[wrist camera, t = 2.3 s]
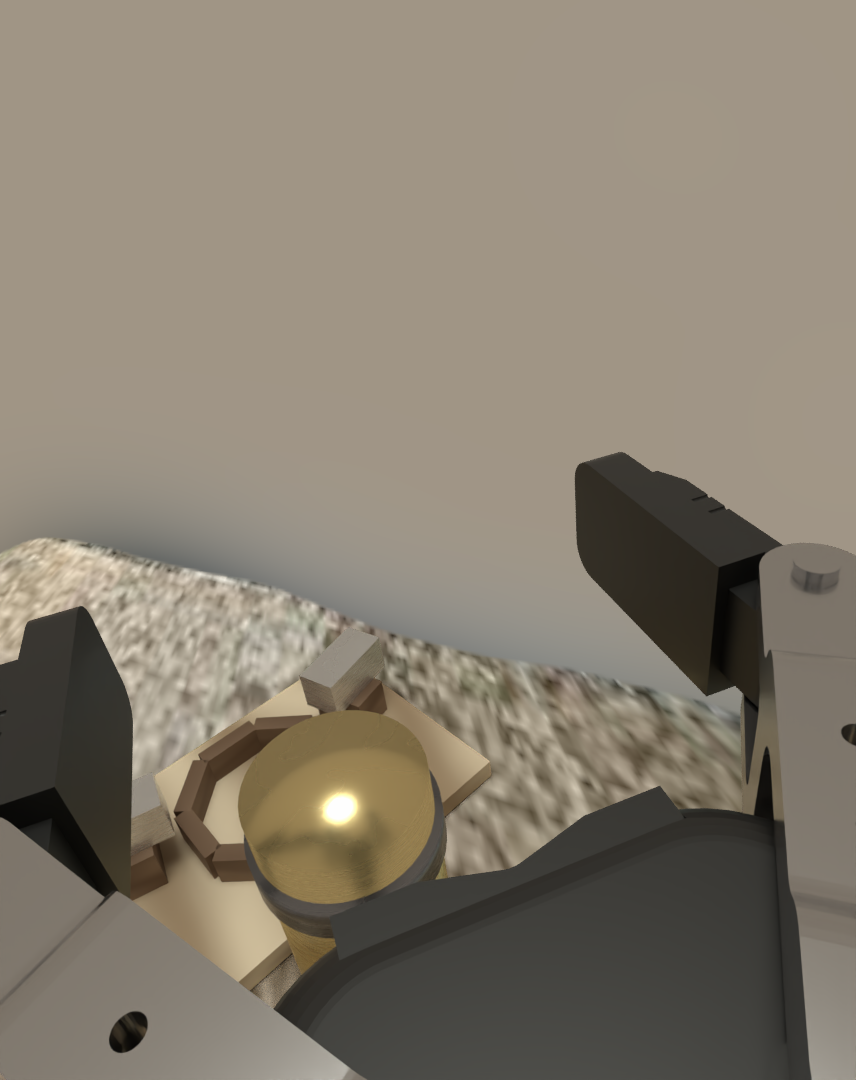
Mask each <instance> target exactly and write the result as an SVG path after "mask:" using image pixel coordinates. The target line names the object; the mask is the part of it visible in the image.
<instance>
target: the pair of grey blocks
mask: <svg viewBox="0 0 856 1080" xmlns="http://www.w3.org/2000/svg"><path fill="white" fill-rule="evenodd" d="M384 667H385V665H384V660H383V655H382V650H381V645H380V640H379V637H376V636H373V635H370V634H367V633H364V632H361V631H358V630H355V629H353V628H350V627H348V628H347V629H346V630H345V631H344V632H343V633H342V634H341V635H340V636H339V637H338V638H337V639H336V640H335V641H334V642H333V643H332V644H331V645H330V646H329V647H328V648H327V649H326V650H325V651H324V652H323V653H322V654H321V655H320V656H319V657H317V658H316V659H315V660H314V661H313V662H312V663H311V664H310V665H309V666H308V667H307V668H306V669H305V670H304V671H303V672H302V673H301V674H300V675H299V677H300V680H301V684H302V687H303V691H304V694H305V698H306V701H307V705H310V706H312V707H314V708H317V709H319V710H321V711H324V712H326V713H330V712H335V711H344V710H346V709H347V708H348V707H349V705H350V704H351V703H352V702H353V701H354V700H355V699H356V698H357V697H358V695H359V694H360V693H361V692H362V691H363V690H364V689H365V688H366V687H367V686H368V684H369V683H370V682H371V681H372V680H373V679H374V678H375V677H376V676H377V674H378V673H379V672H380V671H381V670H382V669H383V668H384ZM174 835H175V832H174V828H173V824H172V821H171V817H170V813H169V810H168V806H167V802H166V800H165V798H164V796H163V794H162V792H161V789H160V787H159V785H158V783H157V781H156V779H155V777H154V775H153V773H152V772H151V773H149V774H147V775H145V776H142V777H140V778H138V779H136V780H133V781H132V814H131V856H132V855H134V854H136V853H138V852H140V851H143V850H145V849H147V848H149V847H151V846H153V845H155V844H157V843H159V842H161V841H163V840H166V839H168V838H170V837H172V836H174Z"/></svg>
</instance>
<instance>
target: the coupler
mask: <svg viewBox="0 0 856 1080" xmlns="http://www.w3.org/2000/svg"><path fill="white" fill-rule="evenodd" d="M238 814H239V820H240V823H241V827H242V829H243V832H244V851H245V856H246V860H247V864H248V866H249V868H250V871H251V873H252V876H253V878H254V880H255V883H256V885H257V888H258V890H259V892H260V894H261V897H262V899H263V901H264V902H265V904H266V905H267V907H268V908H269V910H270V911H271V912H272V913H273V914H274V915H275V916H276V917H277V918H278V919H279V920H280V923H281V925H282V928H283V930H284V933H285V935H286V938H287V940H288V943H289V945H290V948H291V950H292V953H293V955H294V957H295V960H296V962H297V965H298V967H299V970H300V972H301V975H302V974H303V973H304V972H305V971H306V970H308V969H309V968H310V967H311V966H312V965H313V964H314V963H315V962H316V961H317V960H319V959H320V958H321V957H322V956H323V955H325V954H326V953H328V952H329V951H330V950H332V949H333V948H334V947H336V944H335V940H334V935H333V931H332V927H331V922H330V918H329V917H330V916H333V915H335V914H338V913H340V912H343V911H345V910H348V909H350V908H353V907H356V906H358V905H361V904H363V903H366V902H368V901H371V900H373V899H376V898H378V897H381V896H383V895H386V894H388V893H391V892H393V891H396V890H398V889H401V888H403V887H406V886H408V885H411V884H414V883H416V882H422V881H429V880H436V879H443V878H448V877H447V871H446V865H445V859H444V856H445V851H446V843H447V832H446V823H445V817H444V811H443V805H442V799H441V794H440V789H439V787H438V784H437V782H436V779H435V778H434V776H433V774H432V772H431V771H430V769H429V767H428V762H427V757H426V754H425V752H424V749H423V747H422V745H421V744H420V742H419V740H418V739H417V738H416V737H415V735H414V734H413V733H412V732H411V731H410V730H409V729H408V728H406V727H405V726H404V725H402V724H401V723H399V722H398V721H396V720H394V719H392V718H390V717H387V716H384V715H381V714H378V713H374V712H369V711H360V710H344V711H335V712H330V713H325V714H321V715H318V716H314V717H311V718H309V719H306V720H304V721H302V722H300V723H298V724H296V725H294V726H292V727H290V728H288V729H287V730H285V731H284V732H282V733H281V734H279V735H278V736H277V737H275V738H274V739H273V740H272V741H271V742H270V743H268V744H267V745H266V746H265V747H264V748H263V749H262V750H261V752H260V753H259V754H258V755H257V756H256V758H255V759H254V761H253V762H252V763H251V765H250V766H249V768H248V770H247V772H246V774H245V776H244V779H243V781H242V784H241V787H240V792H239V796H238Z"/></svg>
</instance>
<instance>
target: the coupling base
mask: <svg viewBox="0 0 856 1080" xmlns="http://www.w3.org/2000/svg"><path fill="white" fill-rule="evenodd" d="M346 710H360V711H369V712H374V713H378V714H381V715H384V716H387V717H390V718H392V719H394V720H396V721H398V722H399V723H401V724H402V725H404V726H405V727H406V728H408V729H409V730H410V731H411V732H412V733H413V734H414V735H415V737H416V738H417V739H418V740H419V742H420V744H421V745H422V747H423V749H424V752H425V754H426V757H427V762H428V767H429V769H430V771H431V772H432V774H433V776H434V778H435V779H436V782H437V784H438V787H439V789H440V794H441V799H442V805H443V811H444V817H445V816H446V815H447V814H449V813H450V812H451V811H452V810H453V809H454V808H455V807H456V806H458V805H459V804H460V803H461V802H462V801H463V800H464V799H465V798H467V797H468V796H469V795H470V794H471V793H472V792H473V791H474V790H475V789H477V788H478V787H479V786H480V785H481V784H482V783H483V782H484V781H486V780H487V779H488V778H489V777H490V776H491V767H490V761H489V760H487V759H486V758H484V757H483V756H482V755H480V754H479V753H478V752H476V751H475V750H473V749H472V748H471V747H469V746H468V745H466V744H465V743H464V742H462V741H461V740H460V739H458V738H457V737H455V736H454V735H453V734H451V733H450V732H449V731H447V730H446V729H444V728H443V727H442V726H440V725H439V724H438V723H436V722H435V721H433V720H432V719H431V718H429V717H428V716H427V715H425V714H424V713H422V712H421V711H420V710H418V709H417V708H416V707H414V706H413V705H411V704H410V703H409V702H407V701H406V700H405V699H403V698H402V697H400V696H399V695H398V694H396V693H395V692H394V691H392V690H391V689H389V688H388V687H387V686H385V685H384V684H383V683H382V681H379V680H377V679H376V678H374V679H373V680H372V681H371V682H370V683H369V684H368V686H367V687H366V688H365V689H364V690H363V691H362V692H361V693H360V694H359V695H358V697H357V698H356V699H355V700H354V701H353V702H352V703H351V704H350V705H349V707H348V708H347V709H346ZM325 713H326V712H324V711H321V710H319V709H317V708H314V707H312V706H310V705H307V701H306V698H305V694H304V691H303V687H302V684H301V680H299V681H297V682H296V683H294V684H293V685H291V686H290V687H288V688H287V689H285V690H284V691H282V692H281V693H279V694H277V695H276V696H274V697H273V698H271V699H270V700H268V701H267V702H265V703H264V704H262V705H261V706H259V707H258V708H256V709H255V710H253V711H252V712H250V713H249V714H247V715H246V716H244V717H243V718H241V719H240V720H238V721H237V722H235V723H234V724H232V725H231V726H229V727H228V728H226V729H225V730H223V731H222V732H220V733H219V734H217V735H215V736H214V737H212V738H211V739H209V740H208V741H206V742H205V743H203V744H202V745H200V746H199V747H197V748H196V749H194V750H193V751H191V752H190V753H188V754H187V755H185V756H184V757H182V758H181V759H179V760H178V761H176V762H175V763H173V764H172V765H170V766H169V767H167V768H166V769H164V770H163V771H161V772H160V773H158V774H156V775H155V776H154V777H155V779H156V781H157V783H158V785H159V787H160V789H161V792H162V794H163V796H164V798H165V800H166V802H167V806H168V810H169V813H170V817H171V821H172V824H173V828H174V832H175V835H174V836H172V837H170V838H168V839H166V840H163V841H161V842H159V843H157V844H155V845H153V846H151V847H149V848H147V849H145V850H143V851H140V852H138V853H136V854H134V855H132V856H131V883H130V899H131V900H132V901H133V902H135V903H136V904H137V905H138V906H140V907H141V908H142V909H144V910H145V911H146V912H148V913H149V914H150V915H151V916H153V917H154V918H155V919H157V920H158V921H159V922H161V923H162V924H163V925H164V926H166V927H167V928H168V929H170V930H171V931H172V932H174V933H175V934H176V935H177V936H179V937H180V938H181V939H183V940H184V941H185V942H187V943H188V944H189V945H190V946H192V947H193V948H194V949H196V950H197V951H198V952H200V953H201V954H202V955H203V956H205V957H206V958H207V959H209V960H210V961H211V962H213V963H214V964H215V965H216V966H218V967H219V968H220V969H222V970H223V971H224V972H226V973H227V974H228V975H229V976H231V977H232V978H233V979H235V980H236V981H237V982H239V983H240V984H241V985H242V986H244V987H245V988H246V989H248V990H249V991H250V990H251V989H252V988H253V987H255V986H256V985H257V984H258V983H259V982H260V981H261V980H262V979H264V978H265V977H266V976H267V975H268V974H269V973H270V972H271V971H273V970H274V969H275V968H276V967H277V966H278V965H279V964H280V963H282V962H283V961H284V960H285V959H286V958H287V957H288V956H289V955H290V954H292V950H291V948H290V945H289V943H288V940H287V938H286V935H285V933H284V930H283V928H282V925H281V923H280V920H279V919H278V918H277V917H276V916H275V915H274V914H273V913H272V912H271V911H270V910H269V908H268V907H267V905H266V904H265V902H264V901H263V899H262V897H261V894H260V892H259V890H258V888H257V885H256V883H255V880H254V878H253V876H252V873H251V871H250V868H249V866H248V864H247V860H246V856H245V851H244V832H243V829H242V827H241V823H240V820H239V814H238V796H239V792H240V787H241V784H242V781H243V779H244V776H245V774H246V772H247V770H248V768H249V766H250V765H251V763H252V762H253V761H254V759H255V758H256V756H257V755H258V754H259V753H260V752H261V750H262V749H263V748H264V747H265V746H266V745H267V744H268V743H270V742H271V741H272V740H273V739H274V738H275V737H277V736H278V735H279V734H281V733H282V732H284V731H285V730H287V729H288V728H290V727H292V726H294V725H296V724H298V723H300V722H302V721H304V720H306V719H309V718H311V717H314V716H318V715H321V714H325Z"/></svg>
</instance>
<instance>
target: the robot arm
mask: <svg viewBox="0 0 856 1080" xmlns="http://www.w3.org/2000/svg"><path fill="white" fill-rule="evenodd" d="M575 500H576V531H577V546H578V552H579V555H580V558H581V561H582V563H583V566H584V567H585V569H586V571H587V573H588V574H589V575H590V576H591V578H592V579H593V580H594V581H595V582H596V583H597V584H598V585H599V586H600V587H601V588H602V589H603V590H604V591H605V592H606V593H607V594H608V595H609V596H610V597H611V598H612V599H613V600H614V601H615V602H616V603H617V604H618V605H619V607H620V608H622V610H623V611H624V612H625V613H626V614H627V615H628V616H629V617H630V618H631V619H632V620H633V621H634V622H635V623H636V624H637V625H638V626H639V627H640V628H641V629H642V630H643V631H644V632H645V633H646V634H647V635H648V636H649V637H650V639H652V640H653V641H654V643H655V644H656V645H657V646H658V647H659V648H660V649H661V650H662V651H663V652H664V653H665V654H666V655H667V656H668V657H669V658H670V659H671V660H672V661H673V662H674V663H675V664H676V665H677V666H678V667H679V669H681V670H682V672H683V673H684V674H685V675H686V676H687V677H689V679H690V680H691V681H692V682H693V683H694V684H695V685H696V686H697V687H698V688H699V689H700V690H701V691H702V692H703V693H704V694H705V695H706V696H708V695H711V694H714V693H717V692H720V691H722V690H725V689H728V688H730V687H733V686H736V687H737V688H738V689H739V690H740V691H741V692H742V693H743V695H742V703H741V761H742V813H740V812H735V811H730V810H720V809H708V808H700V809H680V810H678V809H677V807H676V806H675V805H674V804H673V802H672V801H671V800H670V798H669V797H668V796H667V795H666V793H665V792H664V791H663V789H662V788H661V787H660V786H658V787H656V788H653V789H651V790H648V791H646V792H643V793H640V794H638V795H635V796H633V797H630V798H628V799H625V800H623V801H620V802H618V803H615V804H613V805H610V806H608V807H605V808H603V809H600V810H598V811H595V812H593V813H590V814H588V815H585V816H583V817H582V818H581V819H579V820H578V821H577V822H575V823H574V824H573V825H571V826H570V827H569V828H567V829H566V830H564V831H563V832H562V833H560V834H559V835H558V836H556V837H555V838H554V839H552V840H551V841H550V842H548V843H547V844H546V845H544V846H543V847H541V848H540V849H539V850H537V851H536V852H535V853H533V854H532V855H531V856H529V857H528V858H527V859H525V860H524V861H523V862H521V863H520V864H518V865H516V866H515V867H512V868H510V869H506V870H500V871H493V872H486V873H479V874H472V875H465V876H458V877H451V878H443V879H436V880H429V881H422V882H416V883H414V884H411V885H408V886H406V887H403V888H401V889H398V890H396V891H393V892H391V893H388V894H386V895H383V896H381V897H378V898H376V899H373V900H371V901H368V902H366V903H363V904H361V905H358V906H356V907H353V908H350V909H348V910H345V911H343V912H340V913H338V914H335V915H333V916H330V917H329V918H330V922H331V927H332V931H333V935H334V940H335V944H336V947H334V948H333V949H332V950H330V951H329V952H328V953H326V954H325V955H323V956H322V957H321V958H320V959H319V960H317V961H316V962H315V963H314V964H313V965H312V966H311V967H310V968H309V969H308V970H306V971H305V972H304V973H303V974H302V975H301V976H300V977H299V978H298V980H297V981H296V982H295V983H294V984H293V985H292V986H291V987H290V988H289V990H288V991H287V992H286V993H285V994H284V995H283V997H282V998H281V999H280V1001H279V1002H278V1003H277V1005H276V1006H275V1008H274V1009H272V1008H271V1007H270V1006H268V1005H267V1004H266V1003H265V1002H263V1001H262V1000H261V999H259V998H258V997H257V996H255V995H254V994H253V993H252V992H250V991H249V990H248V989H246V988H245V987H244V986H242V985H241V984H240V983H239V982H237V981H236V980H235V979H233V978H232V977H231V976H229V975H228V974H227V973H226V972H224V971H223V970H222V969H220V968H219V967H218V966H216V965H215V964H214V963H213V962H211V961H210V960H209V959H207V958H206V957H205V956H203V955H202V954H201V953H200V952H198V951H197V950H196V949H194V948H193V947H192V946H190V945H189V944H188V943H187V942H185V941H184V940H183V939H181V938H180V937H179V936H177V935H176V934H175V933H174V932H172V931H171V930H170V929H168V928H167V927H166V926H164V925H163V924H162V923H161V922H159V921H158V920H157V919H155V918H154V917H153V916H151V915H150V914H149V913H148V912H146V911H145V910H144V909H142V908H141V907H140V906H138V905H137V904H136V903H135V902H133V901H132V900H131V899H130V883H131V814H132V746H133V718H132V711H131V706H130V702H129V698H128V694H127V691H126V689H125V686H124V684H123V681H122V679H121V677H120V675H119V673H118V671H117V669H116V667H115V665H114V663H113V661H112V659H111V656H110V654H109V652H108V650H107V648H106V646H105V644H104V642H103V640H102V638H101V636H100V634H99V632H98V630H97V628H96V626H95V623H94V621H93V619H92V617H91V616H90V614H89V612H88V611H87V610H86V609H85V608H84V607H83V606H79V607H76V608H73V609H69V610H66V611H62V612H59V613H55V614H52V615H48V616H45V617H41V618H38V619H34V620H31V621H29V622H28V623H27V624H26V627H25V631H24V636H23V640H22V644H21V649H20V653H19V658H18V660H15V661H12V662H8V663H5V664H2V665H0V1073H1V1074H2V1075H3V1077H4V1078H5V1079H6V1080H856V556H855V555H853V554H851V553H849V552H847V551H844V550H842V549H839V548H836V547H832V546H828V545H822V544H814V543H796V544H788V545H782V544H780V543H779V542H777V541H776V540H774V539H773V538H771V537H770V536H768V535H767V534H766V533H764V532H763V531H761V530H759V529H758V528H757V527H755V526H754V525H752V524H751V523H749V522H748V521H746V520H744V519H743V518H742V517H740V516H738V515H737V514H736V513H734V512H733V511H731V510H730V509H727V510H726V509H725V506H724V505H722V504H721V503H720V502H718V501H717V500H715V499H714V498H712V497H710V498H708V496H707V494H706V493H705V492H703V491H701V490H700V489H699V488H697V487H696V486H694V485H693V484H691V483H690V482H688V481H687V480H684V479H681V478H678V477H675V476H672V475H669V474H666V473H662V472H659V471H655V472H651V471H650V470H649V469H647V468H646V467H644V466H643V465H641V464H640V463H639V462H637V461H636V460H634V459H633V458H631V457H630V456H629V455H627V454H625V453H623V452H618V453H615V454H611V455H608V456H604V457H601V458H597V459H594V460H590V461H587V462H584V463H581V464H579V465H578V467H577V469H576V472H575Z"/></svg>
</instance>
